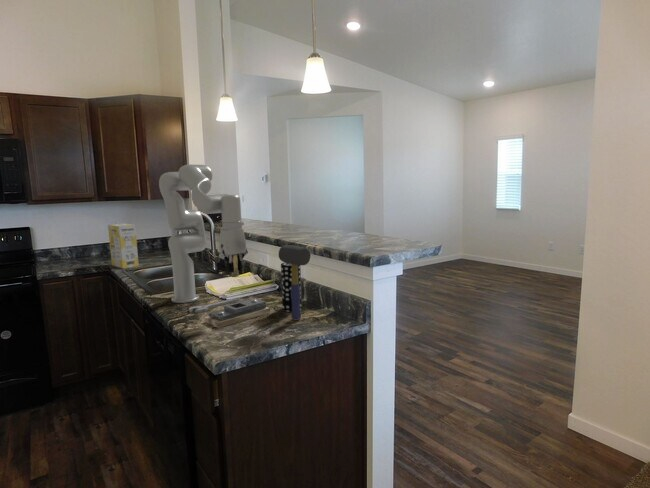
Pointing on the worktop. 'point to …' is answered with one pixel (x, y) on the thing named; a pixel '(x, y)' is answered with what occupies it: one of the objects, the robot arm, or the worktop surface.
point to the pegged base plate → (238, 309)
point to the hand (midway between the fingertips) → (234, 270)
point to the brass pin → (235, 266)
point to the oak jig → (236, 318)
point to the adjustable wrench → (212, 305)
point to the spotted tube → (288, 286)
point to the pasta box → (123, 245)
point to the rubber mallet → (295, 272)
